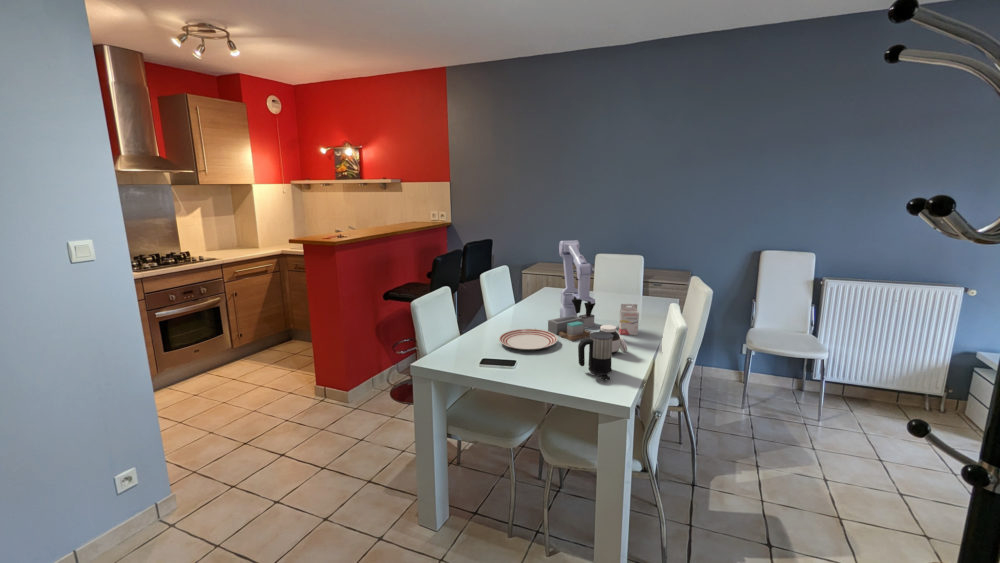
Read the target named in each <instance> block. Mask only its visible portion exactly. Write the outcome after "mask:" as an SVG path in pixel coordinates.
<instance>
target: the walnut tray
mask: <svg viewBox="0 0 1000 563" xmlns="http://www.w3.org/2000/svg"><path fill="white" fill-rule="evenodd" d="M590 334H591V332H590V331H587V330H585V329H583V333H582V334H578V335H574V336H570V335H568V334H567V330H566V331H561V332H559V335H558V337H561V338H562V339H565V340H568V341H570V342H574V341H577V340H583V339H586V337H587V338H591V336H590Z"/></svg>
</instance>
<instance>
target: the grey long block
mask: <svg viewBox="0 0 1000 563" xmlns="http://www.w3.org/2000/svg"><path fill="white" fill-rule="evenodd" d="M577 321H579V322H582V323H583V318H581V317H579V315H577V316H575V315H572V316H567V317H562V318H560V317H558V318H554V319H553V318H552V319H548V320H547V323H548V324H547V331H548V332H551V333H553V334H555V335H556V336H559V332H561V331H566V330H567V323H572V322H577Z"/></svg>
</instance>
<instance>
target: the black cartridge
mask: <svg viewBox="0 0 1000 563" xmlns="http://www.w3.org/2000/svg"><path fill="white" fill-rule="evenodd" d="M578 317H581V318H583V323H584V324H583V329H588V328H592V327H595V314H592V313H591V315H590V316H589V317H586V313H585V314H584V313H583V314H582V315H581V314H579V315H578ZM587 327H588V328H587Z"/></svg>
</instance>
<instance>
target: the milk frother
mask: <svg viewBox="0 0 1000 563" xmlns="http://www.w3.org/2000/svg"><path fill="white" fill-rule="evenodd" d="M612 338H613V335H612V334H610V333H607V332H599V331H594V332H590V337H587V338H582V339H580V341H579V343H578V345H577V354H578V364H579V366H580V367H585V365H586V364H585V363H586V362H585V356H586V355H585V348H586V346H587V345H588V346H589V347H588V349H589V350H588V368H587V369H588V371H589V373H590V374H591V375H593V376H596V377H597V378H599V379H601V380H603V381H605V382H606V381H610V380H611V376H610V375H608V374H610V373H612V371H613V368H612V356H613V355H612Z"/></svg>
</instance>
